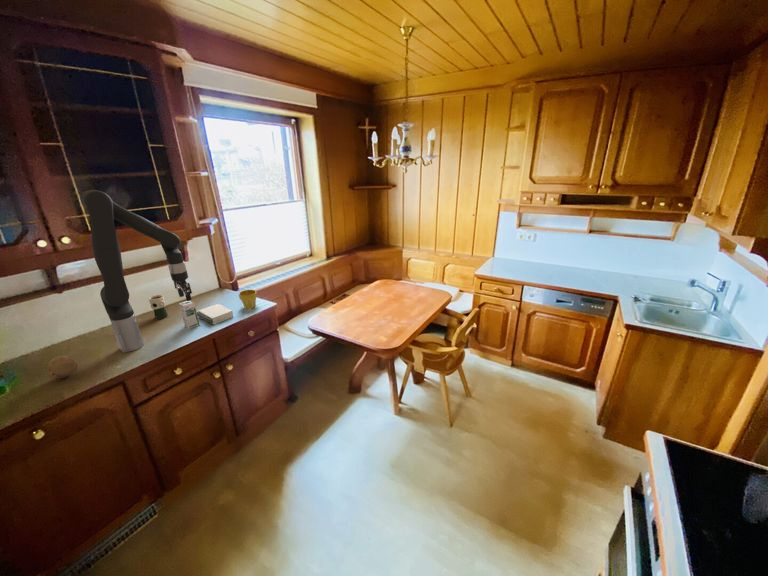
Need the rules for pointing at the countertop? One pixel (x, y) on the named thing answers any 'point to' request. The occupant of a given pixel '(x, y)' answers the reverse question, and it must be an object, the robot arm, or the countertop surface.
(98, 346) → the countertop surface
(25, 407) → the countertop surface
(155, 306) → the character mug
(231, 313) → the dock
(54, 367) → the natural sponge
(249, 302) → the plant pot
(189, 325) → the syrup box
